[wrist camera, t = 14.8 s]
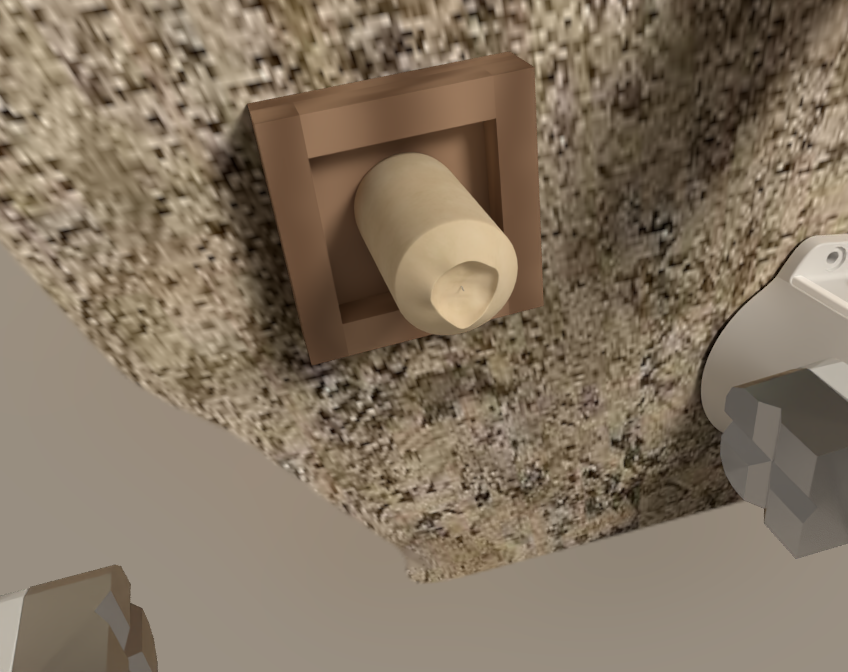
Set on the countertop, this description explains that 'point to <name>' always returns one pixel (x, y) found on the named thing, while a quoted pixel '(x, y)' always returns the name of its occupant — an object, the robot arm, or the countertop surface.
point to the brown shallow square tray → (368, 145)
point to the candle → (434, 244)
